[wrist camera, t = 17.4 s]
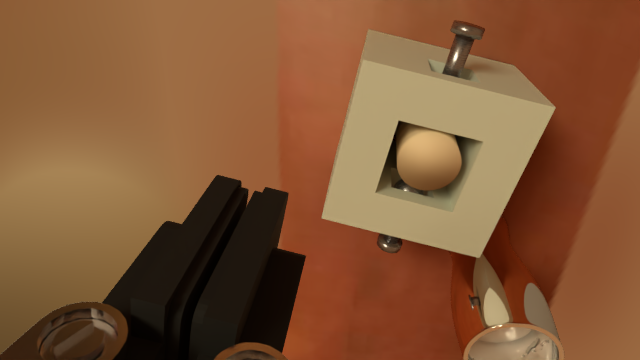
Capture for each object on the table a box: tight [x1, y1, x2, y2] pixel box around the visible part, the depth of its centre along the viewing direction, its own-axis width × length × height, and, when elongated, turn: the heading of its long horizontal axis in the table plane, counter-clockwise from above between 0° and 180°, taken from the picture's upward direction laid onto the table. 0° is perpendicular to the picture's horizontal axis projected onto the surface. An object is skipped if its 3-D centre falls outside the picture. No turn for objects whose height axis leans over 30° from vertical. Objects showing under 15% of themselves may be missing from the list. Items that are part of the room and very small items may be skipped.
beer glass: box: [448, 216, 564, 360], centre depth 37 cm, size 7×7×15 cm
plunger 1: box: [377, 179, 424, 253], centre depth 36 cm, size 6×2×2 cm, turn 168°
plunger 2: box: [442, 20, 485, 78], centre depth 30 cm, size 6×2×2 cm, turn 168°
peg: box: [396, 121, 462, 191], centre depth 34 cm, size 4×4×10 cm
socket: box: [322, 29, 556, 258], centre depth 34 cm, size 12×12×10 cm
